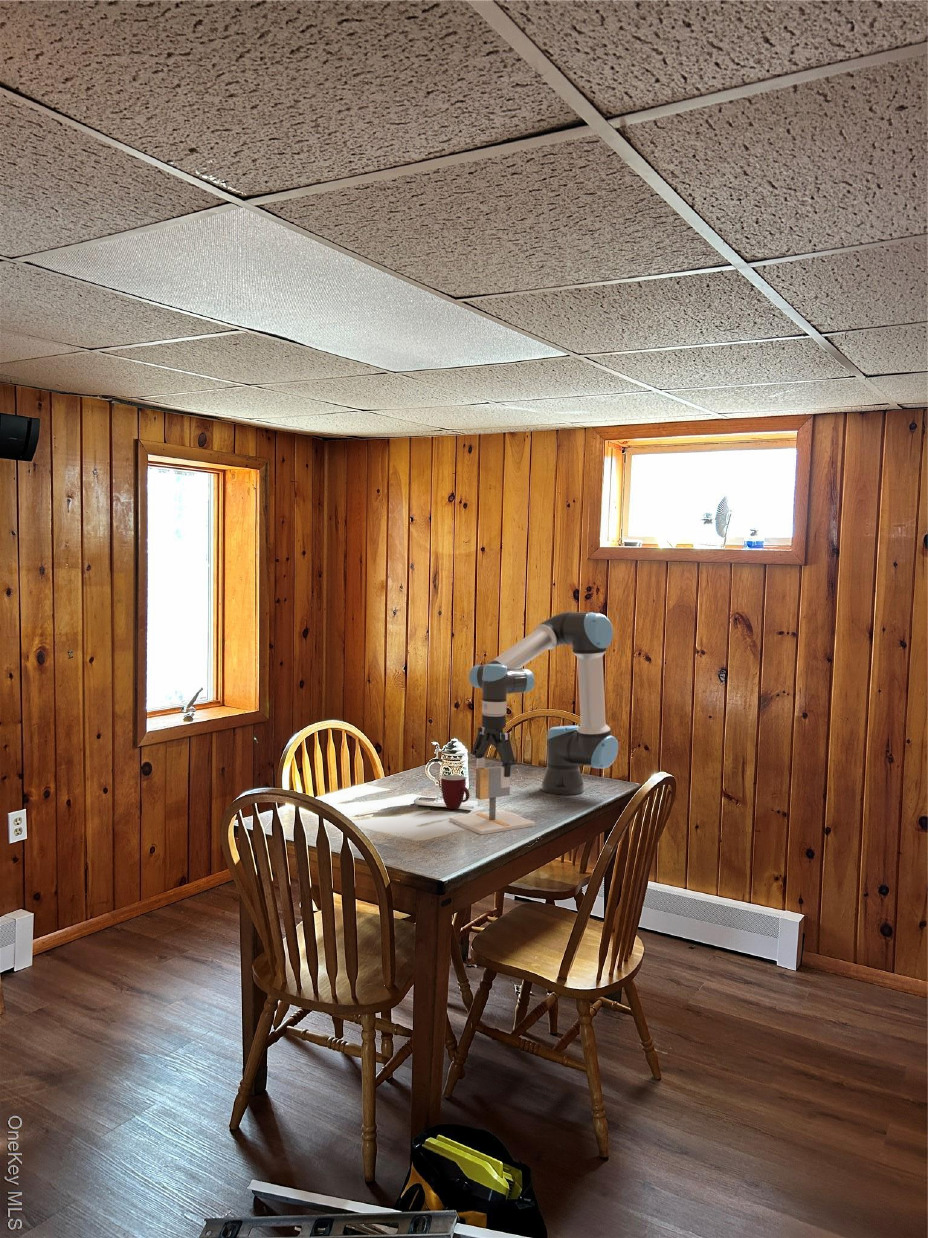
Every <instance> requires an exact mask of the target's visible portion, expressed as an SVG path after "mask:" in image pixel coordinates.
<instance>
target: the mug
mask: <svg viewBox="0 0 928 1238" xmlns="http://www.w3.org/2000/svg"><path fill="white" fill-rule="evenodd" d="M440 778H441V779H440V781H441V782H440V786H441V793H442V798H443V802H444V804H445V807H446V808H447V809H450V810H457V809H459V808H460V807H461V805H462V803H465V802H468V801H469V799H470V791H469V789H468V788H467V787H466V784H467V782H466V779H467V777H466V776H464V775H460V774H450V775H449V774H448V775H442V776H441V777H440ZM464 796H465V797H464Z"/></svg>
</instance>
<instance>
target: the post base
mask: <svg viewBox="0 0 928 1238" xmlns="http://www.w3.org/2000/svg"><path fill="white" fill-rule="evenodd" d="M488 799H489V800H488V801H489V802H488V803H489V806H488V809H489V810H488V811H483V812H475V813H471V814H469V813H468V814H462V815H456V816H450V817H449V822H452V823H454V824H456V825H457V826H461V827H463V828H465V829H467V830H470V831H472V832H475V833H477V834H479V835H487V834H493V833H499V832H506V831H511V830H517V829H523V828H529V827H530V828H531V827H535V826H537V825H536V821H533V820H531V819H528V818H525V817H523V816H520V815H518V814H515V813H512V812H510V811H507V810H504V809H497V804H496V803H497V797H494V798H488Z"/></svg>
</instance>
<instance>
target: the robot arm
mask: <svg viewBox="0 0 928 1238" xmlns="http://www.w3.org/2000/svg"><path fill="white" fill-rule="evenodd" d="M613 638H614V630H613V626H612V623H611V621H610V619H609V618H608V617H607V616H606V615H604V614H602V613H596V612H592V611H591V612H586V611H585V612H584V611H582V612H580V611H579V612H578V611H577V612H575V611H563V612H561V613H558V614H556V615H553V616H551V617H549V618H547V619H545V620H543V621H542V622H541V623H539V624H538V625H536V627H535V628H534V631H533V632H532V633H529V634H528V635H527V636H526V637H524V638H523V639H521V640H520V641H518V642H517V643H516V644H513V645H512V646H511V647H509V648H508V649H507V650H505V651H504V652H502V653H501V654H499V655H498V656H497V657H495V658H494V659H492V660H491V661H490V662H487V663H486V664H484V665H483V664H477V665H474V666H473V667H471V669H470V670H469V673H468V674H469V675H468V679H469V683H470V685H471V686H472V687H474V688H475V689H476V688H478V689H481V690H482V691H481V692H482V693H481V694H482V696H481V699H482V700H481V702H482V703H481V705H482V706H481V713H482V715H481V727H478V728H477V736H476V739H475V742H474V745H473V747H472V751H471V754H472V755H474V757H475V758H476V759H475V767H476V768H486V758H485V756H486V753H487V750H488V749H489V747H490V746H493V747H494V748H495V749H496V751H497V753H498V755H499V759H500V761H501V763H502V764H501V765H500V766H501V788H506V787H510V786H511V784H510V783H511V781H510V779H511V778H510V777H511V766H515V765H516V760H515V755H514V750H513V747H512V744H511V743H512V742H511V737H510V736H511V735H510V732H504V729H505V728H506V727H507V716H506V714H507V703H508V702H507V699H508V698H507V696H508V695H510V694H524V693H527V692H531V691H532V690H533V688H534V687H535V675H534V673H533V671H531V670H530V669H528V668H522V667H525V666H526V665H527V664H528V663H529V662H531V661H533V659H535V658H536V657H539V655H541V654H543V653H544V652H545V651H548V650H549V651H550V650H552V649H555V648H556V647H559V646H571V648H572V654H574V655H575V657H576V658H577V659H576V660H577V675H578V678H577V679H578V694H579V695H578V697H579V698H578V699H579V713H580V718H579V719H580V725H560V726H552V727H550V728H549V729H548V730H547V737H546V770H545V772H544V776H543V778H542V779H543V780H542V781H541V790H542V791H543V792H545V793H549V794H552V795H560V796H561V795H565V796H566V795H567V796H568V795H578V794H581V793H582V794H583V792H584V791H585V785H584V784H585V783H584V781H583V778H582V773H581V770H580V766H585V767H590V768H594V769H607V768H609V767H610V766H612V765H613V763H614V762H615V760H616V759H617V756H618V753H619V742H618V740H617V738H616V737H615V736H613V735H611V734H612V733H611V727H610V726H609V725H608V724H607V723H606V703H605V683H604V681H605V680H604V661H603V656H604V655H605V654H606V652H607V648H608V647H609V646H610V645H611V643H612V640H613ZM476 768H475V769H476Z"/></svg>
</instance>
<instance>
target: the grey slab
mask: <svg viewBox="0 0 928 1238" xmlns="http://www.w3.org/2000/svg"><path fill="white" fill-rule="evenodd" d="M501 766H502V765H495V766H487V767H486V766H485V768H475V799H477V800H479V801H480V800H488V799H489V798H494V797H496V798H500V797H507V796H508V797H509V796H510V787H506V788H501Z"/></svg>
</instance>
